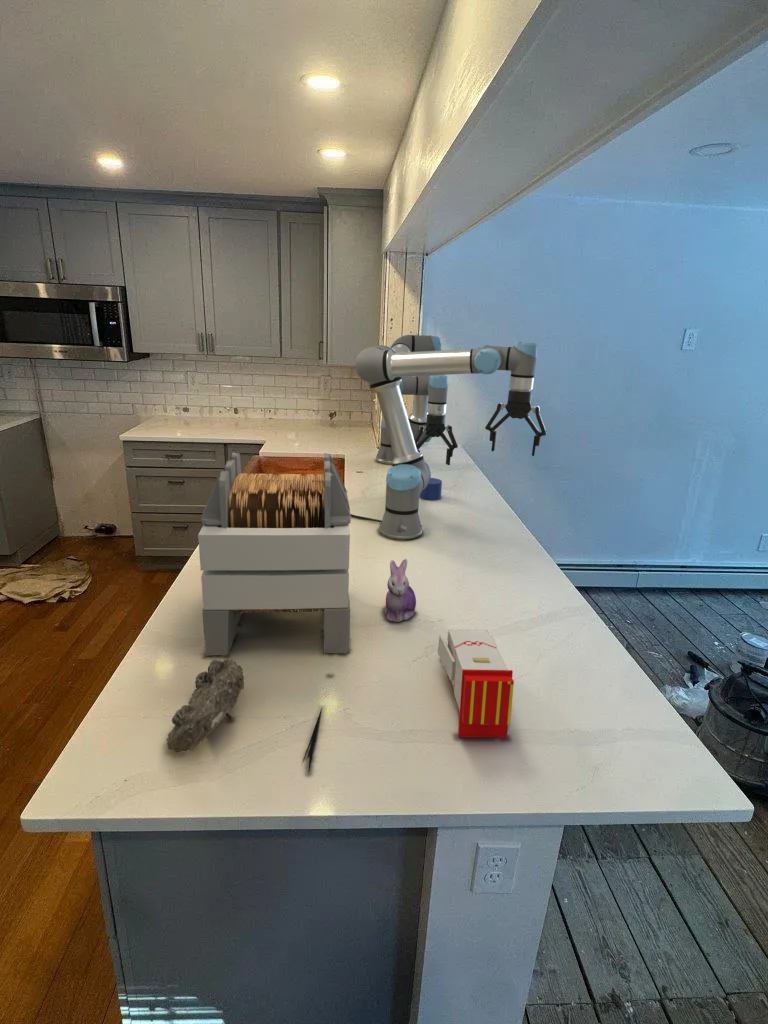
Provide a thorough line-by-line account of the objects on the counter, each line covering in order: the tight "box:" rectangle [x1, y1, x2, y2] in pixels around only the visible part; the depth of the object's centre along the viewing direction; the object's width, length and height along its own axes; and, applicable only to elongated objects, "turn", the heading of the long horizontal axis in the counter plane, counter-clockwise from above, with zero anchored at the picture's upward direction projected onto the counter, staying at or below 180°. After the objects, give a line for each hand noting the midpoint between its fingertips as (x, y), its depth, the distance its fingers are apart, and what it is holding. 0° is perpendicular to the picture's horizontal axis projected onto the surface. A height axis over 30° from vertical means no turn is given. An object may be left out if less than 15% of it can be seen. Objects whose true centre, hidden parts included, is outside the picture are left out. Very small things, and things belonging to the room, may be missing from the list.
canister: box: [419, 477, 443, 501], centre depth 240 cm, size 9×9×7 cm
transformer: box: [197, 451, 352, 657], centre depth 136 cm, size 34×33×41 cm
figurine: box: [384, 558, 417, 623], centre depth 145 cm, size 9×10×15 cm
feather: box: [301, 673, 332, 771], centre depth 108 cm, size 2×28×2 cm
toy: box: [437, 628, 515, 738], centre depth 117 cm, size 12×13×30 cm
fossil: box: [166, 658, 245, 754], centre depth 106 cm, size 22×10×15 cm
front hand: (512, 452), depth 194 cm, fingers open, 13 cm apart
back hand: (432, 465), depth 236 cm, fingers open, 13 cm apart
